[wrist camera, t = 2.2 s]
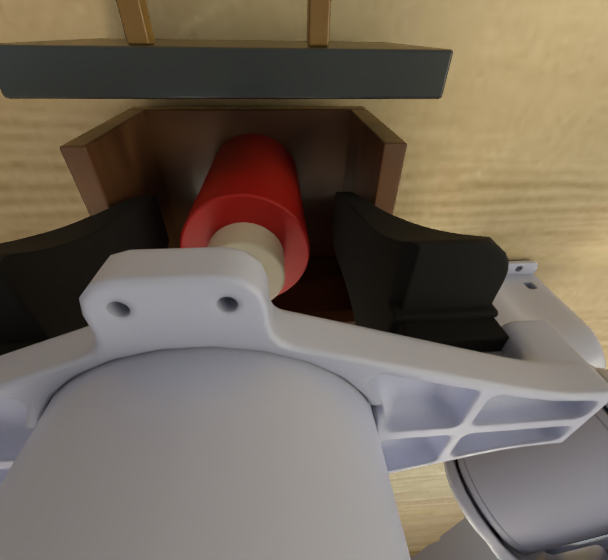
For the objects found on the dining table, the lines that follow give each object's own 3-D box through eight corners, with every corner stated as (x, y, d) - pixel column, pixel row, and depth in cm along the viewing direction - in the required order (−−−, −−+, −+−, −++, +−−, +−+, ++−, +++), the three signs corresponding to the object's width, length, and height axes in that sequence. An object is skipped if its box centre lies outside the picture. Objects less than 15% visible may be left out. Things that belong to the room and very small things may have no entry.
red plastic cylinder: (297, 132, 15) (316, 212, 9) (297, 215, 18) (311, 324, 11) (205, 133, 15) (150, 216, 8) (219, 217, 18) (187, 329, 11)
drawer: (38, -152, 10) (-234, -361, 5) (409, -133, 11) (541, -293, 6) (168, 260, 20) (130, 344, 15) (355, 254, 21) (383, 332, 16)
